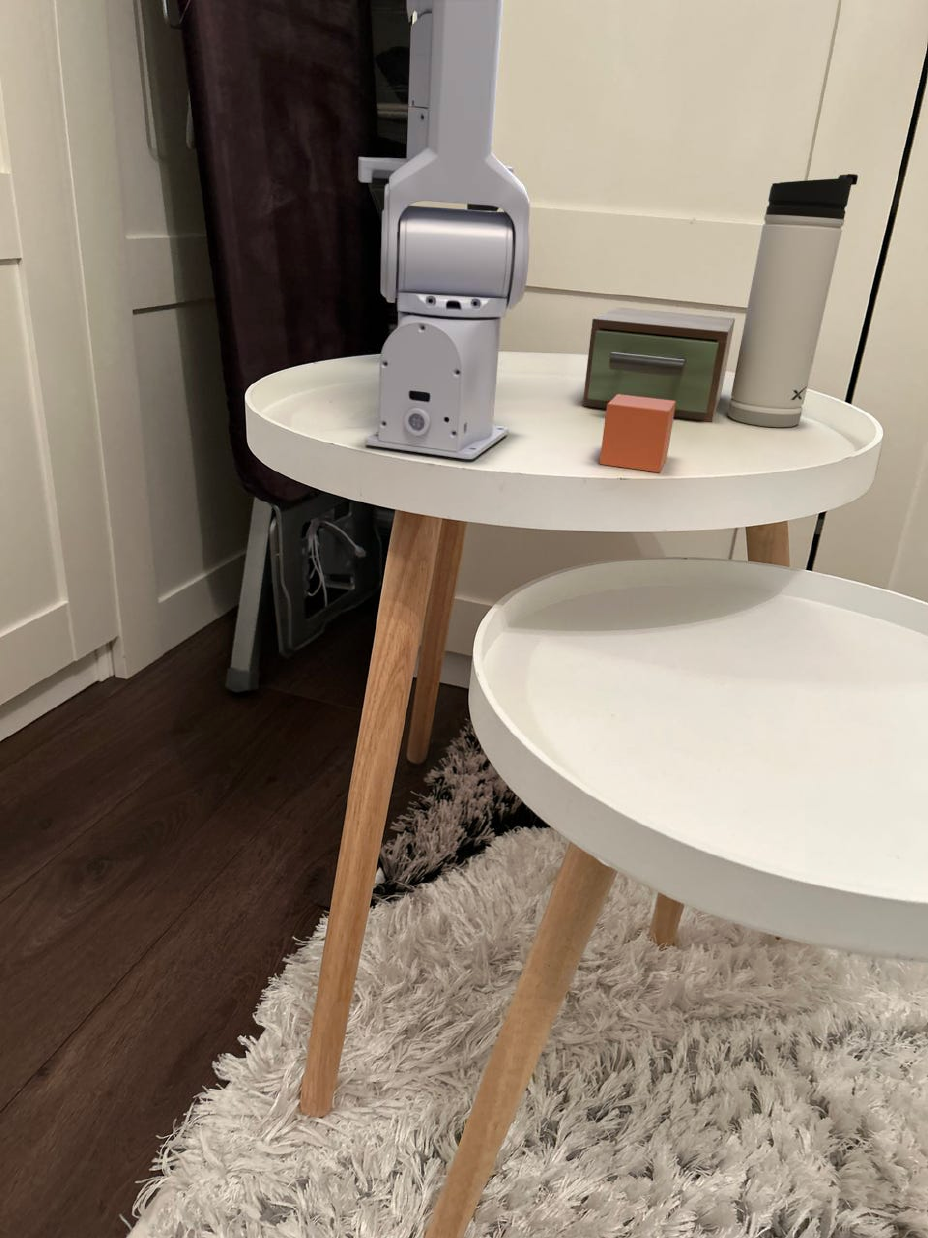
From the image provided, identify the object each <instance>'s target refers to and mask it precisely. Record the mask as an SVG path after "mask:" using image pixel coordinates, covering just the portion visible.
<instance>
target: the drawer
mask: <svg viewBox="0 0 928 1238" xmlns="http://www.w3.org/2000/svg"><path fill="white" fill-rule="evenodd" d="M718 346H719V342H716V340H707V339H697V338H687V337H677V336H667V335H657V334H647V333H637V332H627V331H617V330H611V331H603V330H598V331H596V333H595V341H594V349H593V358H592V366H591V375H590V383H589V391H588V399H594V400H602V401H611V400H612V399H613V398H614V397H615V396H616V395H617V394H621V395H629V396H638V397H646V398H655V399H663V400H671V401H676V404H675V409H676V410H685V411H693V412H701V413H706V412H707V408H708V402H709V397H710V391H711V385H712V380H713V374H714V368H715V363H716V357H717V351H718Z"/></svg>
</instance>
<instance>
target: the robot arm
mask: <svg viewBox="0 0 928 1238" xmlns="http://www.w3.org/2000/svg"><path fill="white" fill-rule="evenodd" d="M503 7H504V0H406V13H407V20H408V23H410V22H411V18H412V17H411V16H412V15H413V14H414V13H416V20H415V21H414V22H413V23H412V24H411V25H410V41H409V45H410V46H409V71H408V73H409V74H408V105H407V131H406V132H407V137H406V139H407V140H406V158H398V157H397V158H396V157H395V158H394V157H365V156H358V158H357V159H358V161H357V162H358V164H357V165H358V171H357V175H358V176H357V180H358V181H359V182H360V183H366V184H367V183H368V188H369V192H370V193H371V197H372V199H373V202H374V204H375V207H376V210H377V213H378V216H379V219H380V223H381V240H380V241H381V245H380V246H381V247H380V294H381V295H382V296H383V297H384V298H385V300H386V302H387V303H391V304H392V303H394V304H395V303H396V309H397V310H396V311H397V313H398V314H397V328H396V329H394V330H393V331H392V332H391V333H390V334H389V336H388V337H387V339H386V340H385V342H384V344H383V346H382V348H381V352H380V356H379V371H378V372H379V375H378V378H379V379H378V381H379V382H378V384H379V385H378V422H377V423H378V425H377V426H378V429H377V430H378V431H377V432H375V433H373V434H371V435H369V436H367V437H366V438H365V444H366V445H367V446H372V447H373V446H374V447H380V448H386V449H393V450H400V451H407V452H415V453H422V454H428V455H435V456H443V457H448V458H456V459H462V460H473V459H475V458H477V457H478V456H479V455H481V454H482V453H483V452H485V451H486V450H487V449H489V448H490V447H492V446H493V445H494V444H496V443H497V442H499V441H500V440H501V439H502V438H505V436H507V435H508V434H509V427H507V426H502V425H494V416H495V404H496V389H497V378H498V377H497V376H498V365H499V364H498V363H499V351H500V338H501V323H502V318H506V317H507V310H514V309H515V308H516V306H517V305H518V304H519V303H520V302H521V301H522V299H523V298H524V294H525V290H526V284H527V281H528V280H527V279H528V271H529V261H530V259H529V258H530V226H529V225H530V209H531V203H530V199H529V196H528V193H527V190H526V187H525V186H524V185H523V182H521V181H520V179H519V178H518V177H516V176H515V174H514V167H511V166H509V165H504V164H503V163H502V162H501V161H500V160H499V159H498V158H497V157H496V156H495V155H494V153H493V139H494V128H495V115H496V102H497V101H496V100H497V86H498V74H499V60H500V48H501V47H500V46H501V35H502V34H501V33H502V20H503ZM418 202H435V203H446V204H447V203H448V204H449V203H450V204H464V205H466V209H465V208H450V207H435V206H422V205H412V204H415V203H418ZM499 209H501V210H502V211H499Z"/></svg>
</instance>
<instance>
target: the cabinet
mask: <svg viewBox="0 0 928 1238" xmlns="http://www.w3.org/2000/svg"><path fill="white" fill-rule="evenodd" d="M591 321H592V322H591V329H590V338H589V347H588V356H587V364H586V371H585V372H586V373H585V378H584V379H585V380H584V389H583V398H582V407H589V408H596V409H606V410H607V404H608V403H609V402H610V401H602V400H594V399H588V391H589V383H590V375H591V366H592V358H593V349H594V341H595V333H596V331H598V330H603V331H611V330H617V331H627V332H637V333H647V334H657V335H667V336H677V337H687V338H697V339H707V340H716V342H719V346H718V351H717V357H716V363H715V368H714V374H713V380H712V385H711V391H710V397H709V402H708V408H707V412H706V413H701V412H693V411H685V410H676V409H675V410H674V417H673V418H677V419H685V420H693V421H695V420H696V421H700V422H701V421H702V422H710V423H713V421H714V417H715V415H716V412H717V409H718V406H719V403H720V400H721V398H722V394H723V387H724V383H725V377H726V371H727V365H728V359H729V355H730V350H731V349H730V348H731V344H732V338H733V332H734V329H735V328H734V327H735V322H736V318H734V317H724V316H713V315H703V314H693V313H683V312H682V313H681V312H671V311H661V310H660V311H659V310H649V309H638V308H628V307H616V308H614V309H611V310H609V311H607V312H604V313H603V314H600V315H597V316H596V317H594V318H592V320H591Z"/></svg>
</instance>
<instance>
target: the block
mask: <svg viewBox="0 0 928 1238" xmlns="http://www.w3.org/2000/svg"><path fill="white" fill-rule="evenodd" d="M675 404H676V401H671V400H663V399H655V398H646V397H638V396H629V395H621V394H617V395H616V396H615V397H614V398H613V399H612V400H611V401H610V402H609V403H608V404H607V409H606V411H605V419H604V427H603V434H602V442H601V450H600V457H599V465H602V466H610V467H617V468H623V469H632V470H639V471H645V472H651V473H661V471H662V469H663V467H664V465H665V463H666V461H667V458H668V454H669V446H670V441H671V435H672V428H673V424H674V423H673V422H674V418H675V417H674V410H675Z"/></svg>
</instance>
